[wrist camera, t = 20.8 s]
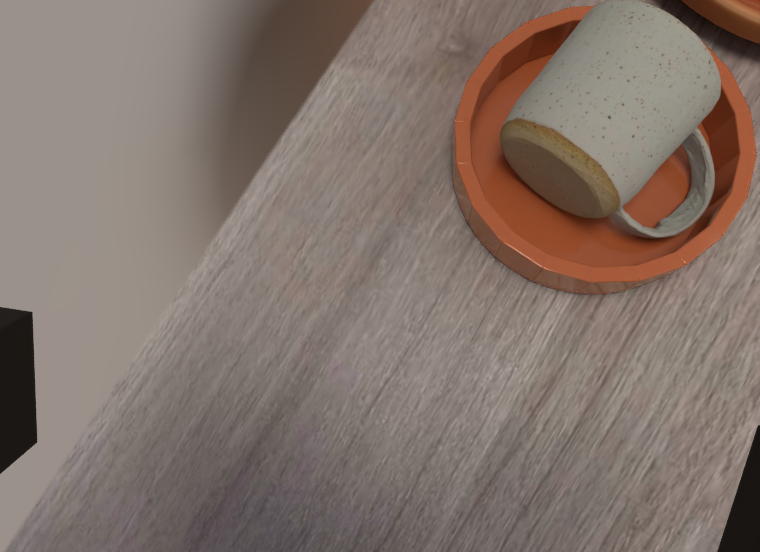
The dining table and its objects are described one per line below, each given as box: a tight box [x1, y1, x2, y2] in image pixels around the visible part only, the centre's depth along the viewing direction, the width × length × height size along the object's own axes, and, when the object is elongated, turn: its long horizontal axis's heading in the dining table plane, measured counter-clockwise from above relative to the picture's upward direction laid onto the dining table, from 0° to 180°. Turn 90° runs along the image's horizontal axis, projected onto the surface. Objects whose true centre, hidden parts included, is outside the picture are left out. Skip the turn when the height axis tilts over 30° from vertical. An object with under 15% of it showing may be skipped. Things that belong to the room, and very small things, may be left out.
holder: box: [452, 6, 756, 294], centre depth 34 cm, size 15×15×4 cm
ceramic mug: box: [500, 0, 721, 238], centre depth 32 cm, size 11×8×8 cm
